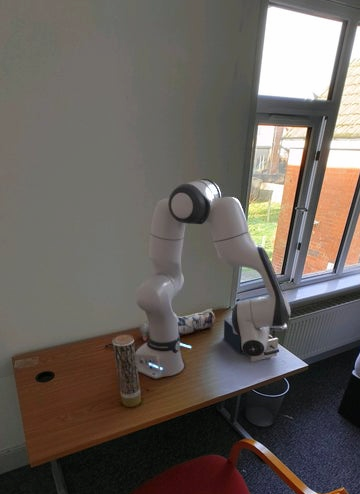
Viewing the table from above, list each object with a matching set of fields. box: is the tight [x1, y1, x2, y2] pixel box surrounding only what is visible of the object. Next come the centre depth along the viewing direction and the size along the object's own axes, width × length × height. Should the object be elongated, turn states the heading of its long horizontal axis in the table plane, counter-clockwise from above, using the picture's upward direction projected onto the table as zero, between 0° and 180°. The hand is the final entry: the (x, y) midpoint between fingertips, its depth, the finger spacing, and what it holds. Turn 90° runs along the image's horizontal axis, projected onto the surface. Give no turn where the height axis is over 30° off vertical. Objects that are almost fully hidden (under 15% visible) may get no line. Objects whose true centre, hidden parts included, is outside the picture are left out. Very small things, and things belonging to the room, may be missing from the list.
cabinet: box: [223, 317, 245, 355], centre depth 157 cm, size 15×13×10 cm
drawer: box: [247, 333, 280, 363], centre depth 147 cm, size 19×12×8 cm, turn 21°
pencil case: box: [177, 308, 216, 337], centre depth 169 cm, size 22×8×10 cm, turn 117°
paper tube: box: [112, 334, 142, 408], centre depth 120 cm, size 7×7×25 cm
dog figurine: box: [139, 322, 150, 341], centre depth 165 cm, size 5×13×11 cm, turn 92°
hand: (259, 312), depth 140 cm, fingers closed on marker, 2 cm apart
